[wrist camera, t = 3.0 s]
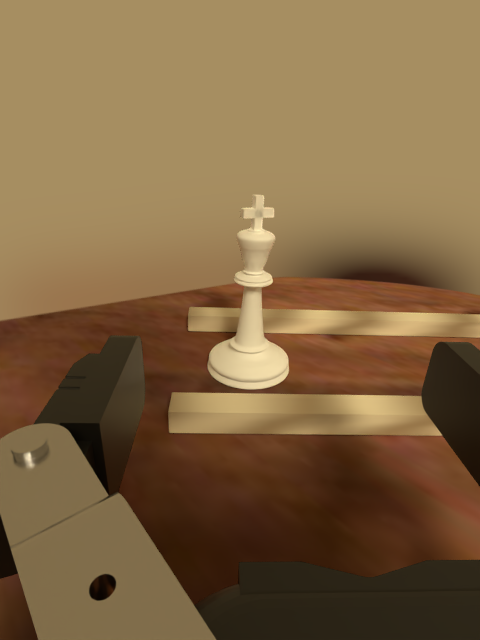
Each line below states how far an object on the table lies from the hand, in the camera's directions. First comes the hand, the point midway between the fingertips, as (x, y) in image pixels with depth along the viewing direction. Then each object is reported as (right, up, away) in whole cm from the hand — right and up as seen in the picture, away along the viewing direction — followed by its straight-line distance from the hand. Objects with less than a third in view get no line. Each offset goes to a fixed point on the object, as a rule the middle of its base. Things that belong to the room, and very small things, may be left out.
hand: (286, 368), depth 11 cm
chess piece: (-1, -2, +13) cm, 13 cm away
